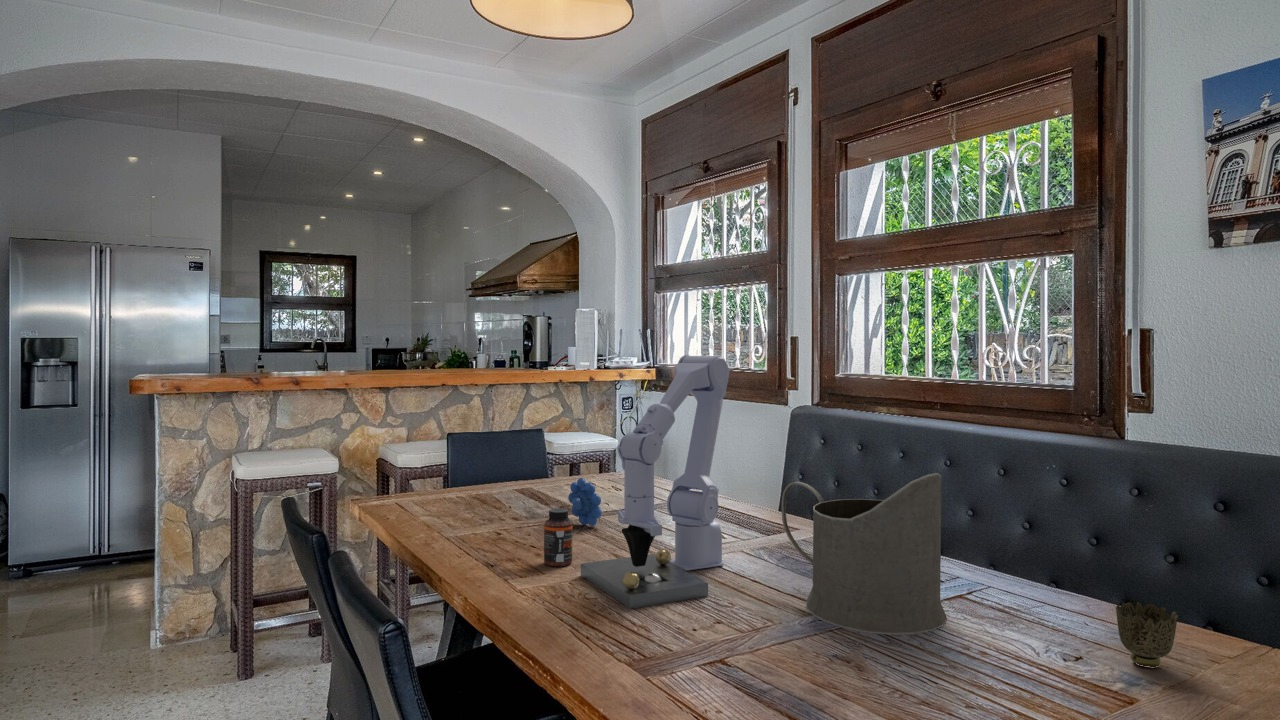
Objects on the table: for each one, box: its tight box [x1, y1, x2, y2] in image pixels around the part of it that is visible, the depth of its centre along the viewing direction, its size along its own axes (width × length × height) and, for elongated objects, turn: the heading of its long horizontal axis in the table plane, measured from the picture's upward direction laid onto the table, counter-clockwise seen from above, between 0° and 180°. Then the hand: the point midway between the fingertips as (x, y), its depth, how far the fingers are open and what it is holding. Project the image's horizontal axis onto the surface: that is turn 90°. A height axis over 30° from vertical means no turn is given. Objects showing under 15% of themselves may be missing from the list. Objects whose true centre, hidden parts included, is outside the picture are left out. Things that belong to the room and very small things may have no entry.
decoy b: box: [623, 572, 639, 589], centre depth 135 cm, size 3×3×3 cm
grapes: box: [567, 477, 603, 527], centre depth 195 cm, size 12×7×12 cm, turn 48°
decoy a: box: [655, 549, 672, 565], centre depth 151 cm, size 3×3×3 cm
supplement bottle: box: [543, 508, 574, 568], centre depth 160 cm, size 6×6×11 cm
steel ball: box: [644, 573, 662, 584], centre depth 142 cm, size 3×3×3 cm
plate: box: [580, 553, 709, 610], centre depth 145 cm, size 16×22×2 cm
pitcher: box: [781, 472, 948, 636], centre depth 135 cm, size 23×32×25 cm
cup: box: [1114, 601, 1179, 667], centre depth 109 cm, size 8×7×8 cm
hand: (639, 565), depth 147 cm, fingers closed
